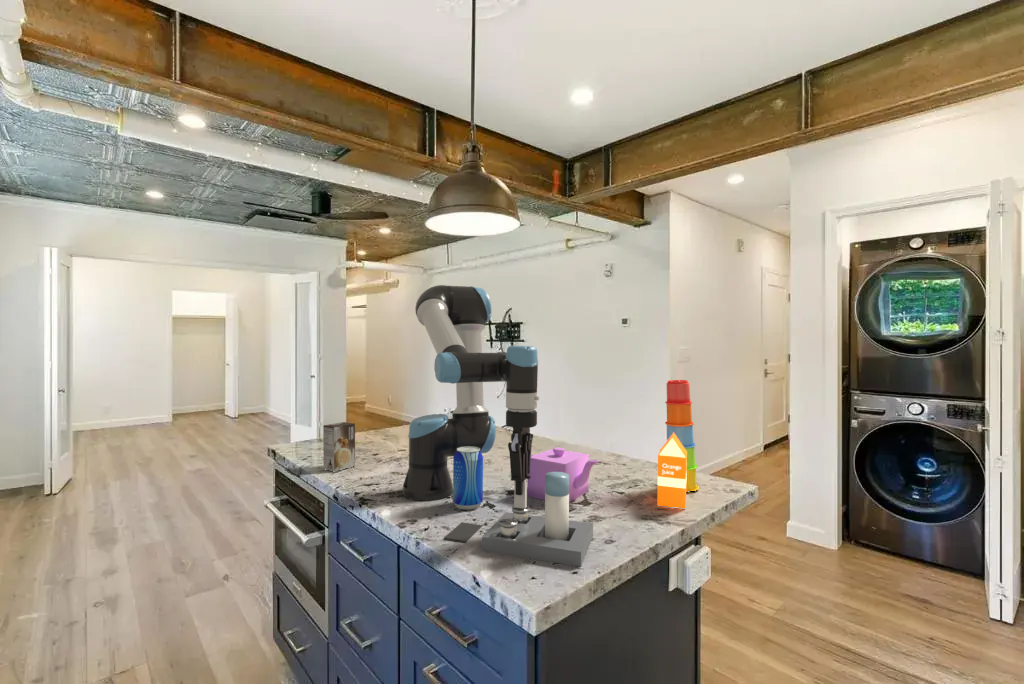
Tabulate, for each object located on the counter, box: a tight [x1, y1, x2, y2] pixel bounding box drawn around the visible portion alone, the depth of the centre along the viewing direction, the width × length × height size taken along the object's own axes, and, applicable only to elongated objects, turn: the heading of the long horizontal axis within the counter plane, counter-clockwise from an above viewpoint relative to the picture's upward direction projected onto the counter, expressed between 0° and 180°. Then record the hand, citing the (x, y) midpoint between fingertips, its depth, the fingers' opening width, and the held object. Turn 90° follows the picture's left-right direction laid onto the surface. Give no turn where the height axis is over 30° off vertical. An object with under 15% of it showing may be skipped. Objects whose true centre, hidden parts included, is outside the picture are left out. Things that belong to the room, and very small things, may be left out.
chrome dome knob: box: [499, 518, 518, 539], centre depth 106 cm, size 4×4×4 cm
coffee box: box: [322, 421, 356, 472], centre depth 170 cm, size 9×6×16 cm
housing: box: [481, 511, 594, 568], centre depth 108 cm, size 22×16×4 cm
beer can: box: [452, 446, 484, 510], centre depth 134 cm, size 8×8×16 cm
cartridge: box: [544, 472, 570, 541], centre depth 107 cm, size 5×5×16 cm
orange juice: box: [656, 432, 687, 509], centre depth 137 cm, size 8×9×20 cm
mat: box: [443, 521, 484, 544], centre depth 114 cm, size 10×10×1 cm
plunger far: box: [511, 506, 530, 524], centre depth 114 cm, size 4×4×4 cm
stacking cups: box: [664, 379, 700, 493], centre depth 151 cm, size 10×10×35 cm
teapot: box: [526, 447, 601, 503], centre depth 144 cm, size 15×25×14 cm, turn 55°
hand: (520, 506), depth 114 cm, fingers closed
